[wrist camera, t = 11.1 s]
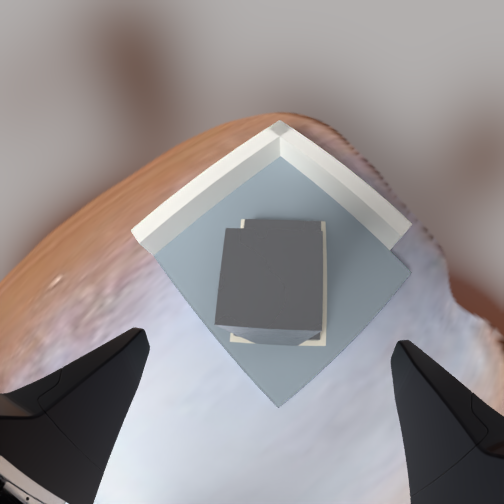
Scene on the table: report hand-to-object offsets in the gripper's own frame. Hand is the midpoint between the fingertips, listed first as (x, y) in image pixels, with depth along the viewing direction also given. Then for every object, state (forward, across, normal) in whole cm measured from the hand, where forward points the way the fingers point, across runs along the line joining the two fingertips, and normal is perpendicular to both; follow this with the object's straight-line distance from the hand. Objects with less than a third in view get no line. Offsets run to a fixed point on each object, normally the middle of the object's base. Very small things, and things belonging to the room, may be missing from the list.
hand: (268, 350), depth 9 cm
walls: (+13, +1, +1) cm, 13 cm away
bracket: (+11, 0, +3) cm, 11 cm away
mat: (+12, 0, +3) cm, 12 cm away
